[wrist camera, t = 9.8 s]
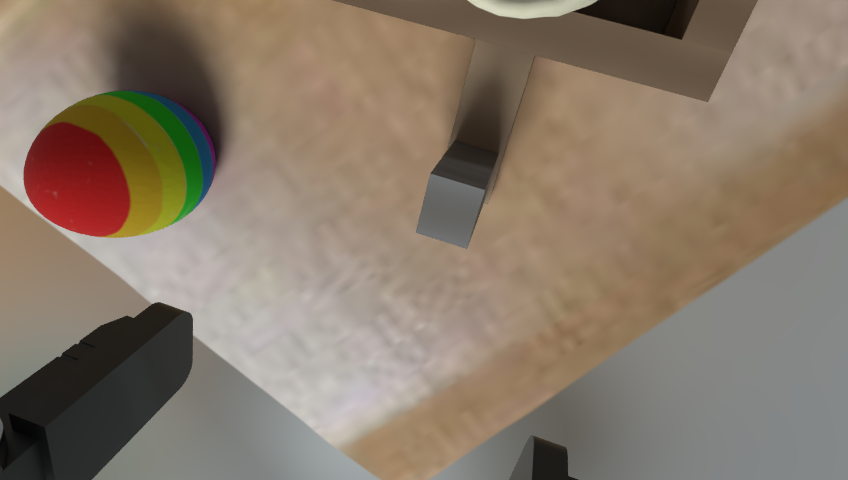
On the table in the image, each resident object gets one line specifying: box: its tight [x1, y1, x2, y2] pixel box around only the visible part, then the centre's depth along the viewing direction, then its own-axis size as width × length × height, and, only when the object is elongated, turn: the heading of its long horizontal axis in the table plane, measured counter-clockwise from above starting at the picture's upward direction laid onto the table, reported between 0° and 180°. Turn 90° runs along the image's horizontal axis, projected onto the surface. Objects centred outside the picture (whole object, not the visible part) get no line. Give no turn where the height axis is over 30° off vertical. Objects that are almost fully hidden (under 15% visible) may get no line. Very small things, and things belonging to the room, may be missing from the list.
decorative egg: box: [24, 91, 215, 238], centre depth 29 cm, size 8×8×10 cm
